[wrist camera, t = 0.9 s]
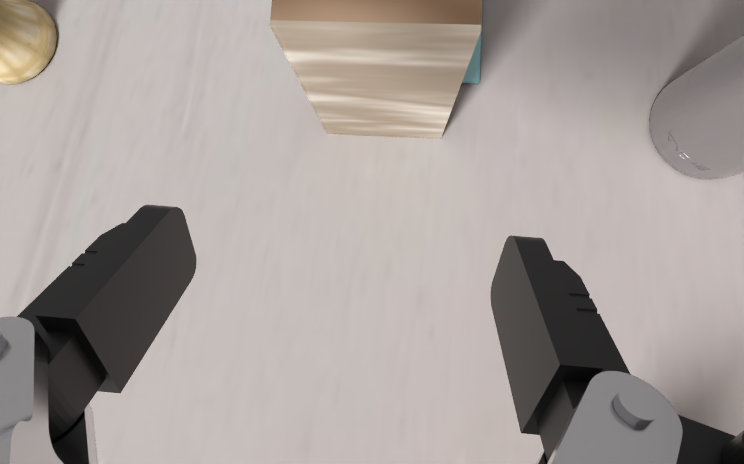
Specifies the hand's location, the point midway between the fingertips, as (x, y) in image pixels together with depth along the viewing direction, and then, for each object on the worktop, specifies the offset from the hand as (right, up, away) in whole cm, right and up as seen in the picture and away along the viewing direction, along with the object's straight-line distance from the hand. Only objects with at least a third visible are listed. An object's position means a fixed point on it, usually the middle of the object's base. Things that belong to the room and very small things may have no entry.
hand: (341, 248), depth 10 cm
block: (+2, +11, +25) cm, 27 cm away
